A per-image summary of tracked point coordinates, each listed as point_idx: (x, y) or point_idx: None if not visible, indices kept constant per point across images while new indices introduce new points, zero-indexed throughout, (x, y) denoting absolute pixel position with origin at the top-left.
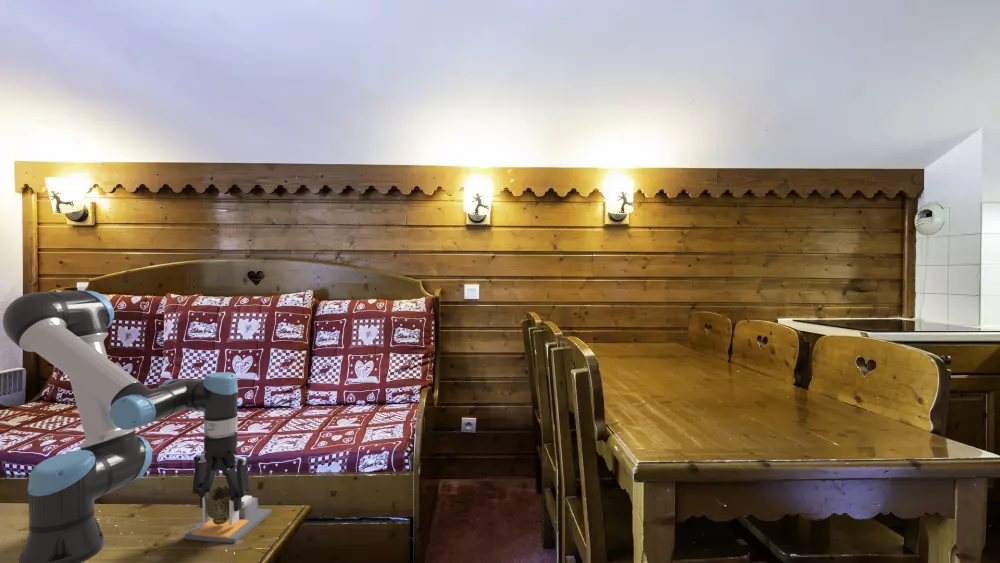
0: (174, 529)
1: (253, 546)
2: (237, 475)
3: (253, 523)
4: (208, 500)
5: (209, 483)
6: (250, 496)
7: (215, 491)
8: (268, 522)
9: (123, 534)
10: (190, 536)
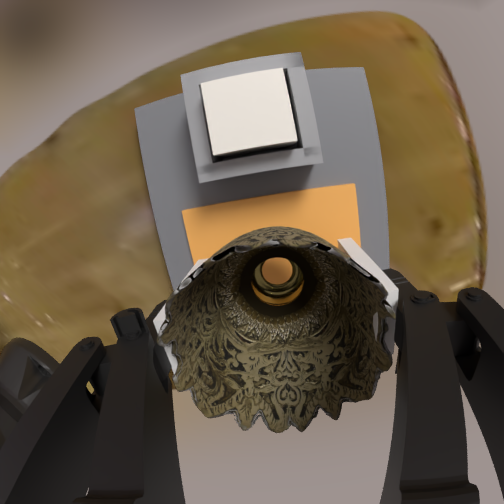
0: (108, 282)
1: (440, 286)
2: (502, 473)
3: (382, 191)
4: (270, 421)
5: (165, 423)
6: (280, 75)
7: (178, 312)
8: (398, 136)
9: (46, 328)
10: None
